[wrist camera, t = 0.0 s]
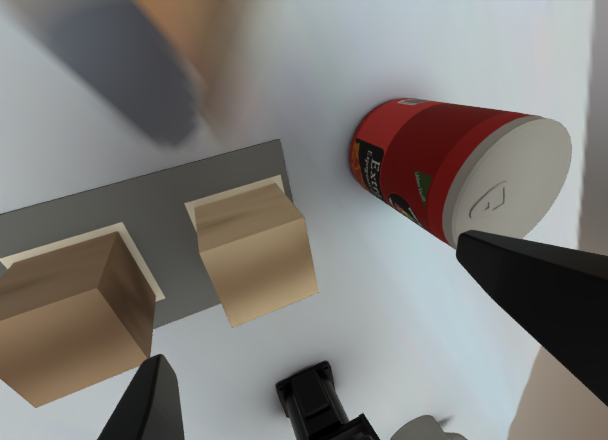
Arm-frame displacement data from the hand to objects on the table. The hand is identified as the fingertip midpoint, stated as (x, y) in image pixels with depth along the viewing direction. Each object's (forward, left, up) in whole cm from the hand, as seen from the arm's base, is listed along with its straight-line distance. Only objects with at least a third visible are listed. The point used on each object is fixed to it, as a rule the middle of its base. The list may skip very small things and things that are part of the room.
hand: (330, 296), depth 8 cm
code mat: (-5, +7, -15) cm, 17 cm away
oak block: (-5, +1, -14) cm, 15 cm away
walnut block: (-5, +12, -14) cm, 20 cm away
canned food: (-2, -12, -15) cm, 19 cm away
